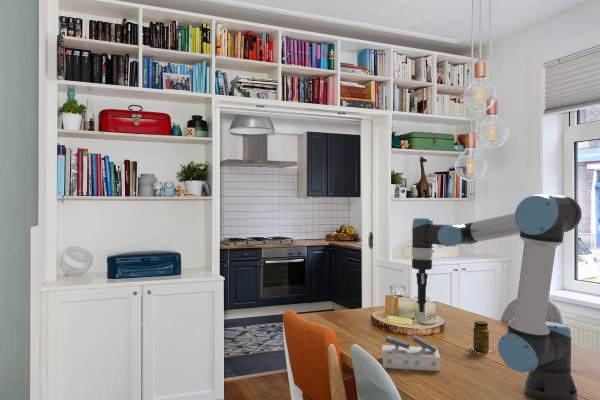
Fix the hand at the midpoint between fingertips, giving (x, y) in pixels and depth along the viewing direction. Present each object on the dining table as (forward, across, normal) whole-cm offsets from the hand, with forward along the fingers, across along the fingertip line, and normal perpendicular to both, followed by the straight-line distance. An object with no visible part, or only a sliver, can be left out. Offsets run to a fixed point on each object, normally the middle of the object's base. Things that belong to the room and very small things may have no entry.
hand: (421, 319), depth 183 cm
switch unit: (+17, -1, +4) cm, 18 cm away
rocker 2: (+9, -1, -1) cm, 9 cm away
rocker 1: (+9, -1, +9) cm, 13 cm away
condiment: (+17, +22, -25) cm, 38 cm away
